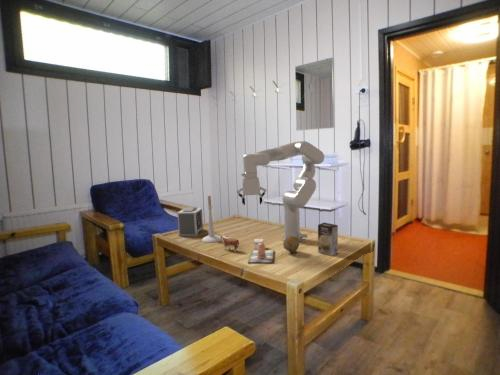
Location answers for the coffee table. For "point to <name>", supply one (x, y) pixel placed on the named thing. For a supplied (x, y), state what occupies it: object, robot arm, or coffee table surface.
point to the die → (257, 243)
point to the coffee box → (328, 238)
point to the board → (268, 259)
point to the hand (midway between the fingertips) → (252, 204)
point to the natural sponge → (291, 243)
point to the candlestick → (211, 227)
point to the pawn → (261, 251)
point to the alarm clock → (190, 221)
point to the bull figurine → (230, 242)
